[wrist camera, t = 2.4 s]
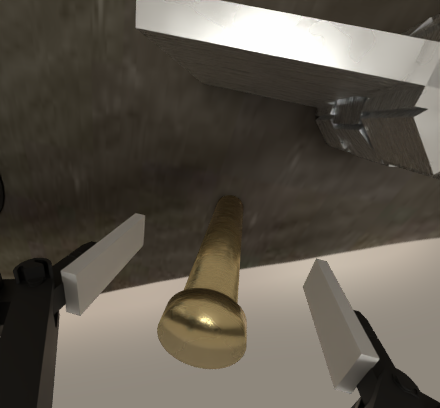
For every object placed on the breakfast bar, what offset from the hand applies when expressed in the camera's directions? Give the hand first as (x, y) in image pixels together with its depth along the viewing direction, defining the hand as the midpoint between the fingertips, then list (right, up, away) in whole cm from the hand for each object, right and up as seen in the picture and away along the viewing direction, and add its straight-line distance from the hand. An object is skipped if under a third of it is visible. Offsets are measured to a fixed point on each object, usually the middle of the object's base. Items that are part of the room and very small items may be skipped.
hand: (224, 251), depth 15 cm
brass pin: (+1, +3, +7) cm, 8 cm away
